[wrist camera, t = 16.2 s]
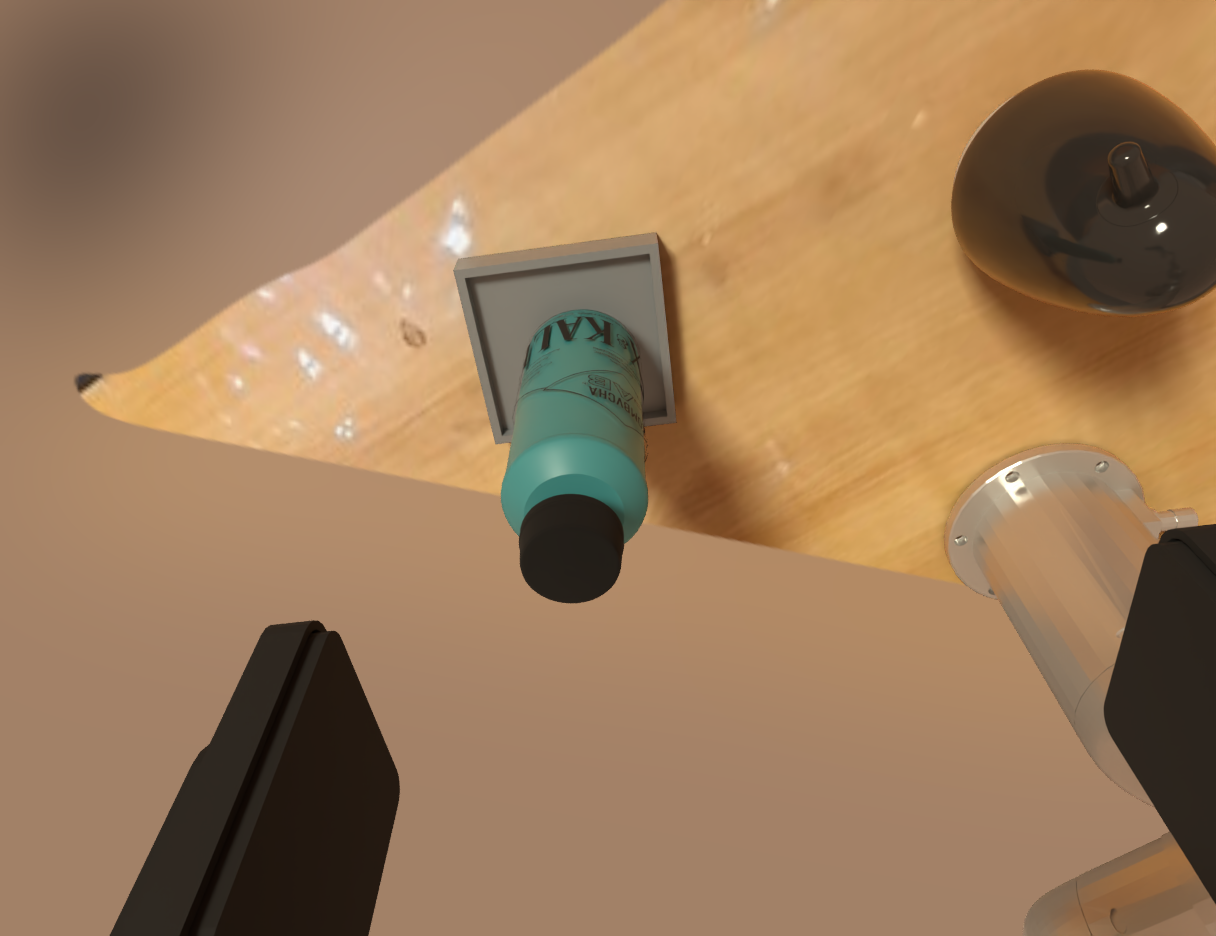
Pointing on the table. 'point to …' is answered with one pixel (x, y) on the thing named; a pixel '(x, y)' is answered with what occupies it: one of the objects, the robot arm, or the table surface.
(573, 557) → the beverage bottle
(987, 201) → the pump dispenser
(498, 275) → the tray
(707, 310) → the table surface
